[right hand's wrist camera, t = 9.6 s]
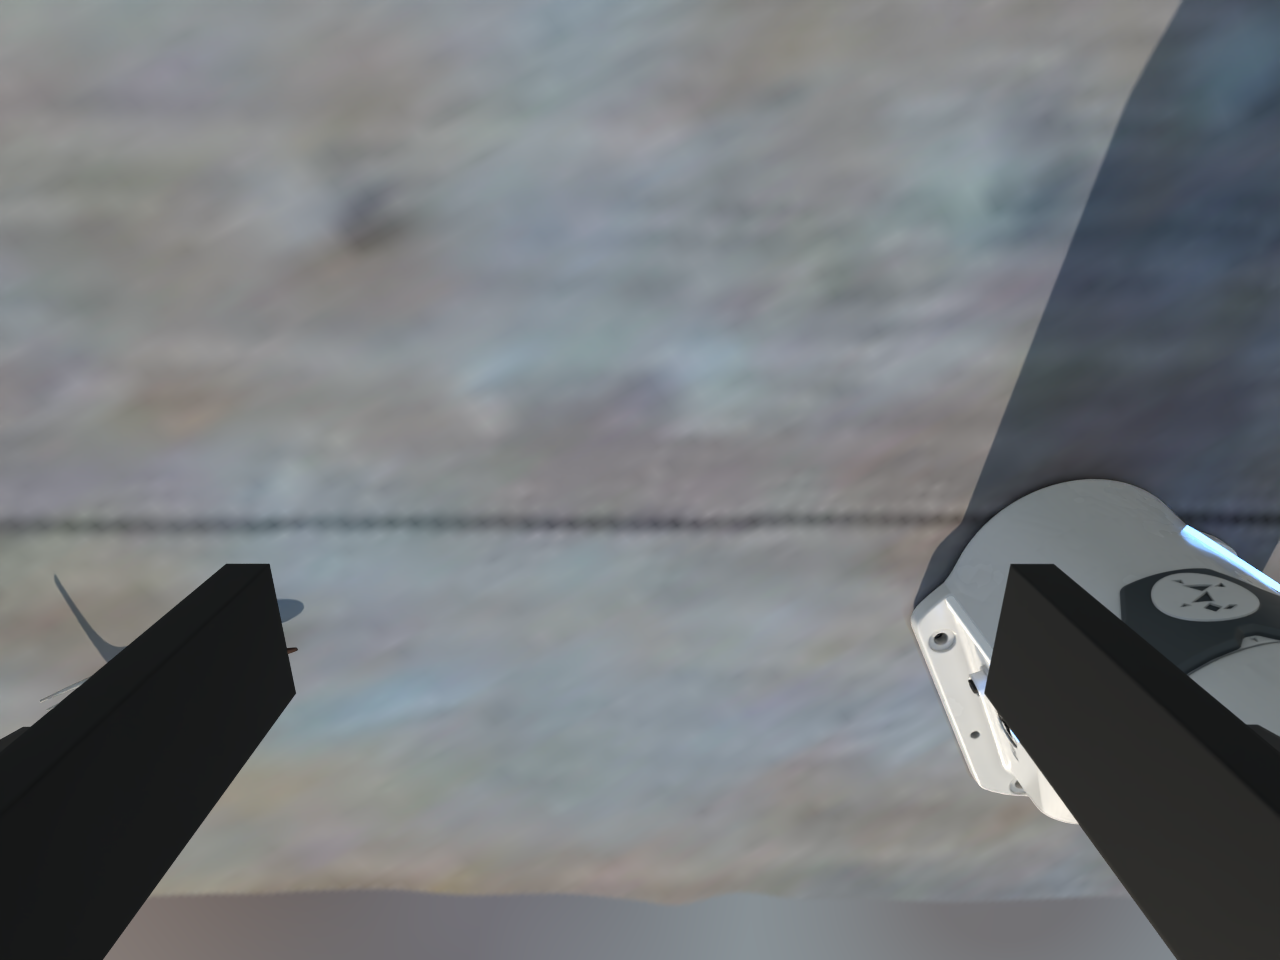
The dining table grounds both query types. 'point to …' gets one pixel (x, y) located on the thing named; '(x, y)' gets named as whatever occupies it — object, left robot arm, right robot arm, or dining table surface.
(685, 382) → the dining table surface
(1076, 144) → the dining table surface
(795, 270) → the dining table surface
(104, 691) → the right robot arm
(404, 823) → the dining table surface
